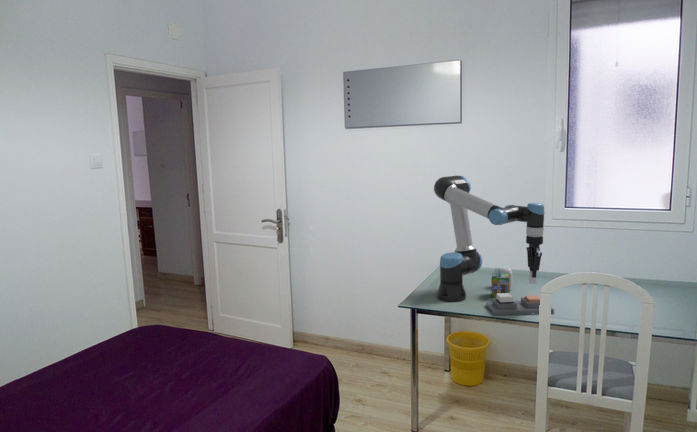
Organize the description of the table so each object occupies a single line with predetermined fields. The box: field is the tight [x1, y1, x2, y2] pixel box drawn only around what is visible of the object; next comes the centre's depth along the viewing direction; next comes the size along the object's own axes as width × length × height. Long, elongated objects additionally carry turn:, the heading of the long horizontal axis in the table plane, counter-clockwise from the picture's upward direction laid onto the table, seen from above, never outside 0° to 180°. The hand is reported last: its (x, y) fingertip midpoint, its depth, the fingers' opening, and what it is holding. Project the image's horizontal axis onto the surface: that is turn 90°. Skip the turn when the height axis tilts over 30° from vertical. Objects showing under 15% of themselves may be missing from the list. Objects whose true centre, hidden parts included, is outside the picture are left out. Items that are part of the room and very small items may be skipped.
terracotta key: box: [524, 294, 541, 303], centre depth 225 cm, size 6×6×2 cm
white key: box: [496, 293, 514, 302], centre depth 225 cm, size 6×6×2 cm
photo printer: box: [493, 266, 514, 291], centre depth 260 cm, size 10×4×12 cm, turn 39°
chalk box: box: [490, 269, 511, 299], centre depth 246 cm, size 9×9×15 cm
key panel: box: [485, 296, 555, 316], centre depth 226 cm, size 28×14×4 cm, turn 90°
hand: (532, 283), depth 224 cm, fingers closed
